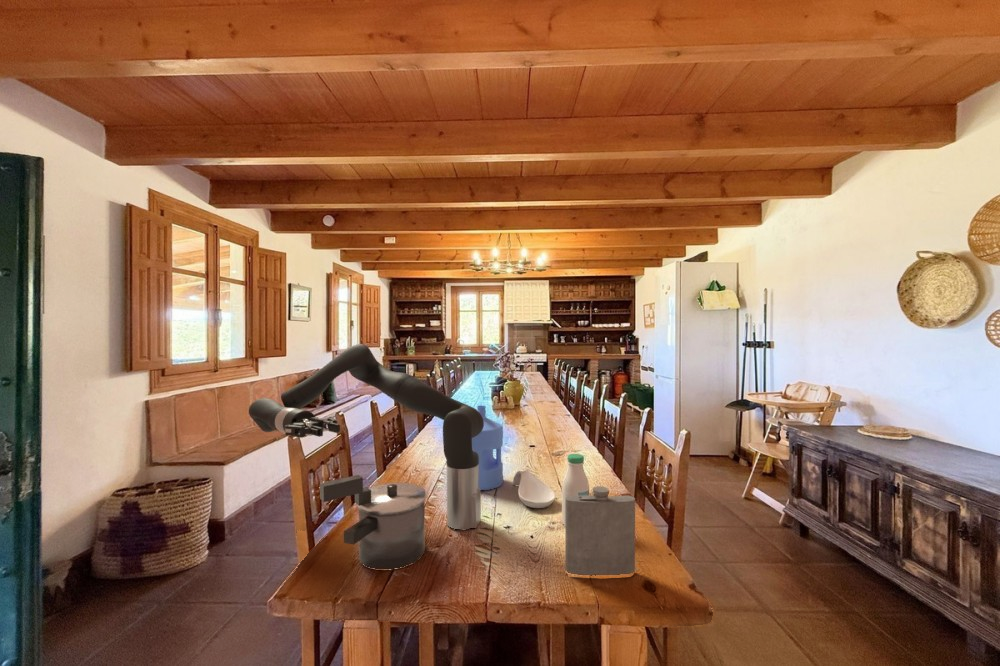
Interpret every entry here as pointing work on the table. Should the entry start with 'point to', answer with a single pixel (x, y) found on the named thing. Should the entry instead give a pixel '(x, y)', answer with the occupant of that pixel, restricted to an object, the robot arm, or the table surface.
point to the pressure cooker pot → (389, 538)
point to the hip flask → (600, 534)
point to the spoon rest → (533, 490)
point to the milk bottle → (574, 480)
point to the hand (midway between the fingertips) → (330, 430)
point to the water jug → (489, 452)
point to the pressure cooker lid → (375, 495)
